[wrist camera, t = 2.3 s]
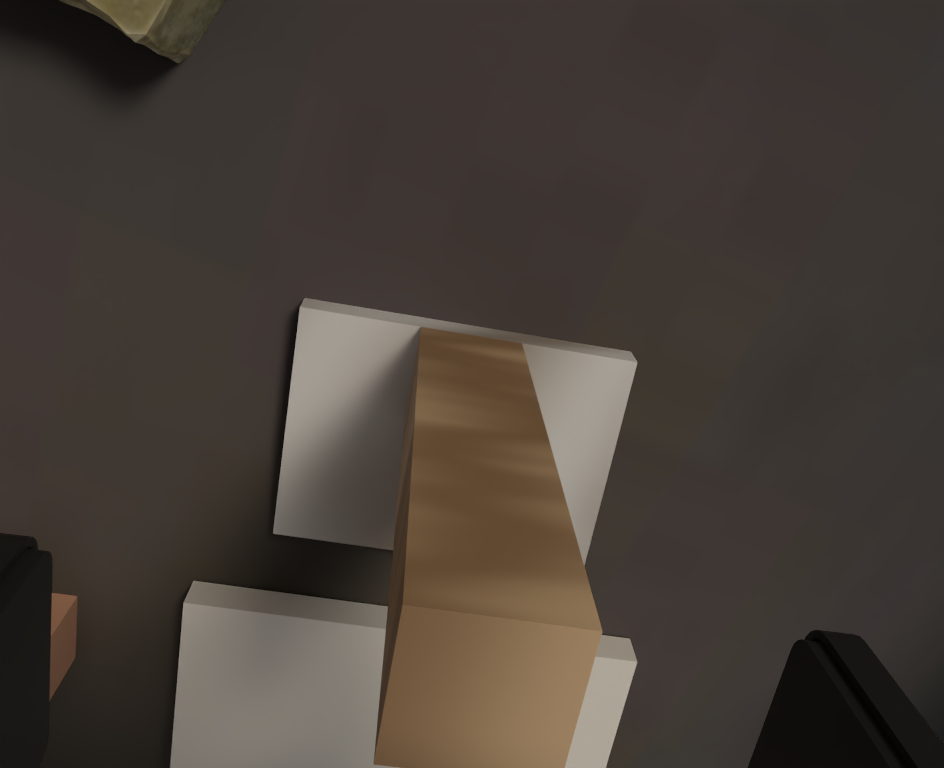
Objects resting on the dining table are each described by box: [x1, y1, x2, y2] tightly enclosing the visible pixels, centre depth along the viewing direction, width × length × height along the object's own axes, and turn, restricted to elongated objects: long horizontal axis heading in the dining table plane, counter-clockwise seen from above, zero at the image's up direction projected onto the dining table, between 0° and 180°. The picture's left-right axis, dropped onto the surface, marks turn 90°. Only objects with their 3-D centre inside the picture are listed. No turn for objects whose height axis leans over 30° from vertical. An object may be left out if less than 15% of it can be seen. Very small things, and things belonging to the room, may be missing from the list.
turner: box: [273, 298, 637, 768], centre depth 17 cm, size 8×6×12 cm
